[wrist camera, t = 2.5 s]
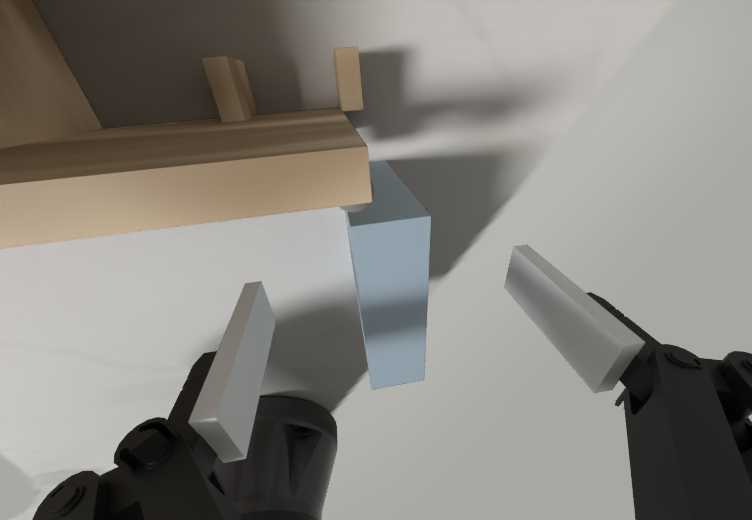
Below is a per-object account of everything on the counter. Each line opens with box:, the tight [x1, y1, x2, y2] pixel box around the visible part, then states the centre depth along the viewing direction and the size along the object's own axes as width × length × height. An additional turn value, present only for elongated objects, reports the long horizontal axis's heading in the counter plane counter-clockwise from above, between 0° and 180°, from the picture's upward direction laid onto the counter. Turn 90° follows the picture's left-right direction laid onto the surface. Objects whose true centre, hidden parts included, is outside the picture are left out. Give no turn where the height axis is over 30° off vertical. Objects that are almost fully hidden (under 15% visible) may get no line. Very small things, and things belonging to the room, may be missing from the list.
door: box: [345, 161, 431, 390], centre depth 17 cm, size 10×4×9 cm, turn 4°
